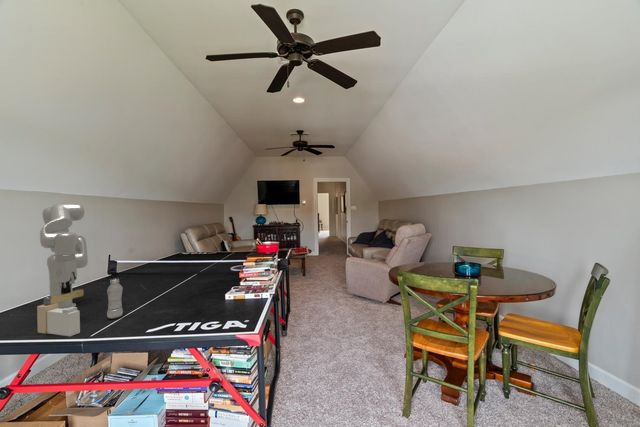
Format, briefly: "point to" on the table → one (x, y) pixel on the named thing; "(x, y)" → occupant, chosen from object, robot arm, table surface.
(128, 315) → the table surface
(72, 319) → the cream stepped two-tone block
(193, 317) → the table surface
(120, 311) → the plastic bottle
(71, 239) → the robot arm
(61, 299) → the swing bar
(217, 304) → the table surface
